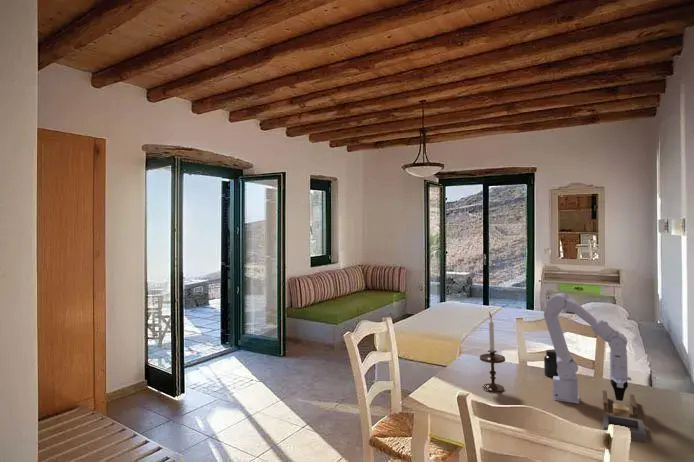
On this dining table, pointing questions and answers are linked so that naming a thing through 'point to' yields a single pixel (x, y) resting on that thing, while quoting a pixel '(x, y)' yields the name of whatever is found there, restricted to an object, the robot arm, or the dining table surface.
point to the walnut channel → (632, 402)
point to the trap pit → (627, 425)
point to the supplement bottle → (550, 363)
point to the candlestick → (492, 361)
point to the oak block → (621, 410)
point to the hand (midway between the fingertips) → (619, 399)
